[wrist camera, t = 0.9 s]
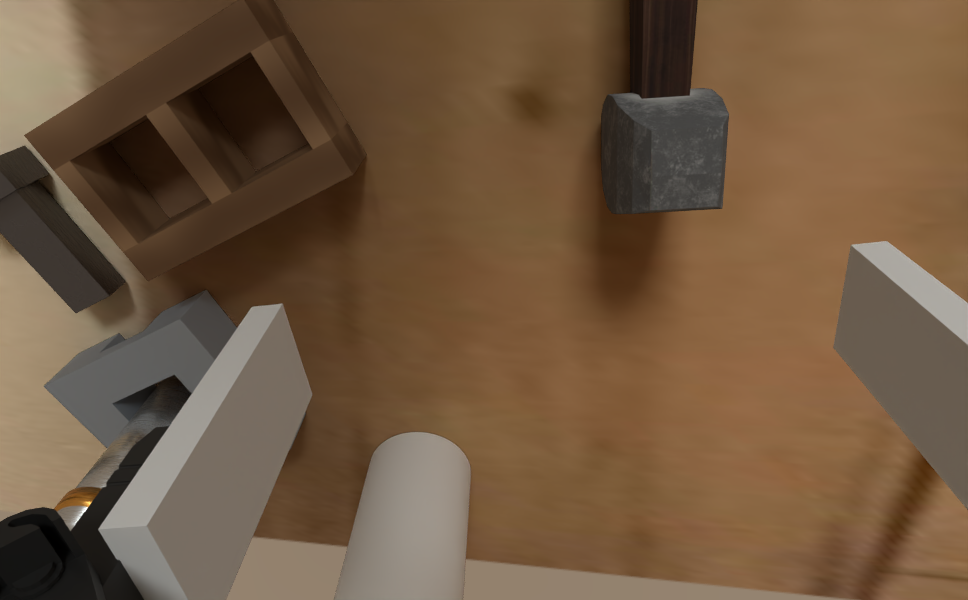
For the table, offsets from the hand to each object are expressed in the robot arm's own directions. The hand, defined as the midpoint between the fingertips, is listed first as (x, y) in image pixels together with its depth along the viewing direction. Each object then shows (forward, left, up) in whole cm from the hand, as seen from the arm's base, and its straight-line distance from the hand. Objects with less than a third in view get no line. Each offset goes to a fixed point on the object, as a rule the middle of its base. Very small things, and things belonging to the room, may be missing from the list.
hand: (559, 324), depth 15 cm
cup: (+22, -20, -25) cm, 39 cm away
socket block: (+7, -31, -25) cm, 40 cm away
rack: (-7, -18, -25) cm, 31 cm away
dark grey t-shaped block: (-7, -31, -25) cm, 40 cm away
